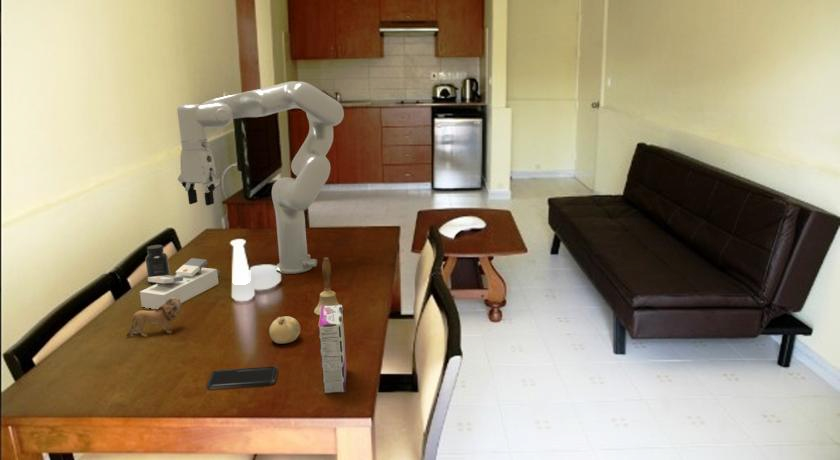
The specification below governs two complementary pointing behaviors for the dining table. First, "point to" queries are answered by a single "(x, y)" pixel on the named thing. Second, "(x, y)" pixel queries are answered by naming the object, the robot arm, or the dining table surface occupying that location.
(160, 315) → the lion figurine
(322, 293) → the hand bell
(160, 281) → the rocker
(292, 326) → the onion
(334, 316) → the candy bar box
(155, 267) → the supplement bottle
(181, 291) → the strip
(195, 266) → the rocker
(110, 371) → the dining table surface
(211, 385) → the phone
